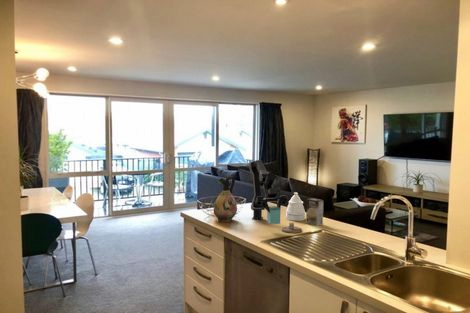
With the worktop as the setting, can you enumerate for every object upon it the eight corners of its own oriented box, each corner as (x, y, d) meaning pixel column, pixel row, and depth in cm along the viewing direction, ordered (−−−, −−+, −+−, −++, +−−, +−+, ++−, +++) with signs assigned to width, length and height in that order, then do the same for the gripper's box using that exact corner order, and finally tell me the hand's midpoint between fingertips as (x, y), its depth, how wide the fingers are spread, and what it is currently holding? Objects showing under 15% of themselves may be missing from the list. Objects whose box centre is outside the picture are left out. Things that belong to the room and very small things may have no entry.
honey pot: (304, 221, 230) (305, 194, 229) (285, 220, 232) (285, 193, 231) (304, 216, 242) (305, 191, 241) (286, 215, 245) (286, 190, 244)
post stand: (282, 227, 213) (282, 220, 213) (302, 228, 211) (302, 221, 210) (280, 232, 202) (280, 224, 202) (301, 234, 199) (301, 226, 199)
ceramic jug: (221, 224, 218) (221, 177, 217) (209, 219, 231) (209, 175, 229) (243, 221, 228) (244, 176, 226) (230, 216, 241) (231, 173, 239)
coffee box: (305, 223, 224) (306, 198, 223) (311, 221, 228) (311, 197, 227) (317, 226, 217) (318, 200, 216) (323, 224, 221) (323, 199, 220)
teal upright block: (267, 221, 205) (267, 206, 204) (276, 221, 206) (277, 206, 206) (270, 224, 199) (270, 208, 198) (280, 223, 200) (280, 208, 200)
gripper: (257, 182, 203) (262, 204, 193) (286, 182, 207) (293, 203, 197) (253, 193, 211) (258, 215, 201) (282, 192, 215) (288, 214, 205)
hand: (274, 212), depth 201 cm, fingers closed on teal upright block, 6 cm apart
